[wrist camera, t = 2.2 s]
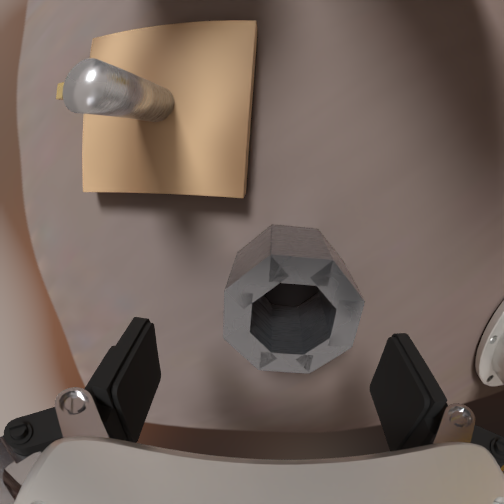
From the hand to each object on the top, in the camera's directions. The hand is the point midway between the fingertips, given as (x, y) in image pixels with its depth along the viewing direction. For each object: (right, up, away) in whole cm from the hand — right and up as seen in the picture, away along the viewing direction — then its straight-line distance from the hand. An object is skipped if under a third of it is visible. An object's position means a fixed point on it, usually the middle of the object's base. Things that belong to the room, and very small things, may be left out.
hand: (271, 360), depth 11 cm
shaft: (-6, +12, +3) cm, 14 cm away
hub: (+2, +3, +8) cm, 8 cm away
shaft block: (-6, +13, +5) cm, 15 cm away
